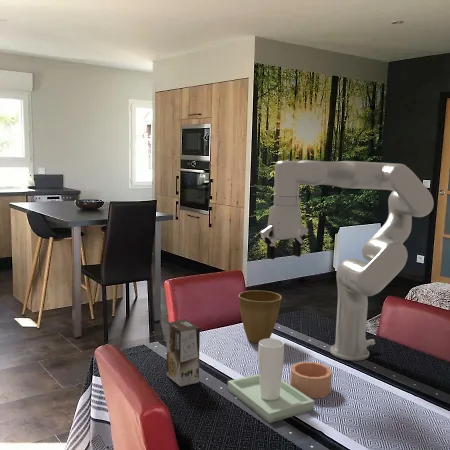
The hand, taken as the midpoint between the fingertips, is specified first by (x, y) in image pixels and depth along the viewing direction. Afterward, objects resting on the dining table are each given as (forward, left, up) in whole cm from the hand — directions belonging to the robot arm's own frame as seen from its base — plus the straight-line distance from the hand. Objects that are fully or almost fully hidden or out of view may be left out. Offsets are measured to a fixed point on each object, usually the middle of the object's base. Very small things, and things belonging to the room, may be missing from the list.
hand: (283, 257), depth 159 cm
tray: (+18, +20, -33) cm, 43 cm away
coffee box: (+33, -2, -34) cm, 47 cm away
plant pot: (-4, -18, -34) cm, 38 cm away
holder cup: (+4, +20, -33) cm, 39 cm away
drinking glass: (+18, +20, -33) cm, 42 cm away
